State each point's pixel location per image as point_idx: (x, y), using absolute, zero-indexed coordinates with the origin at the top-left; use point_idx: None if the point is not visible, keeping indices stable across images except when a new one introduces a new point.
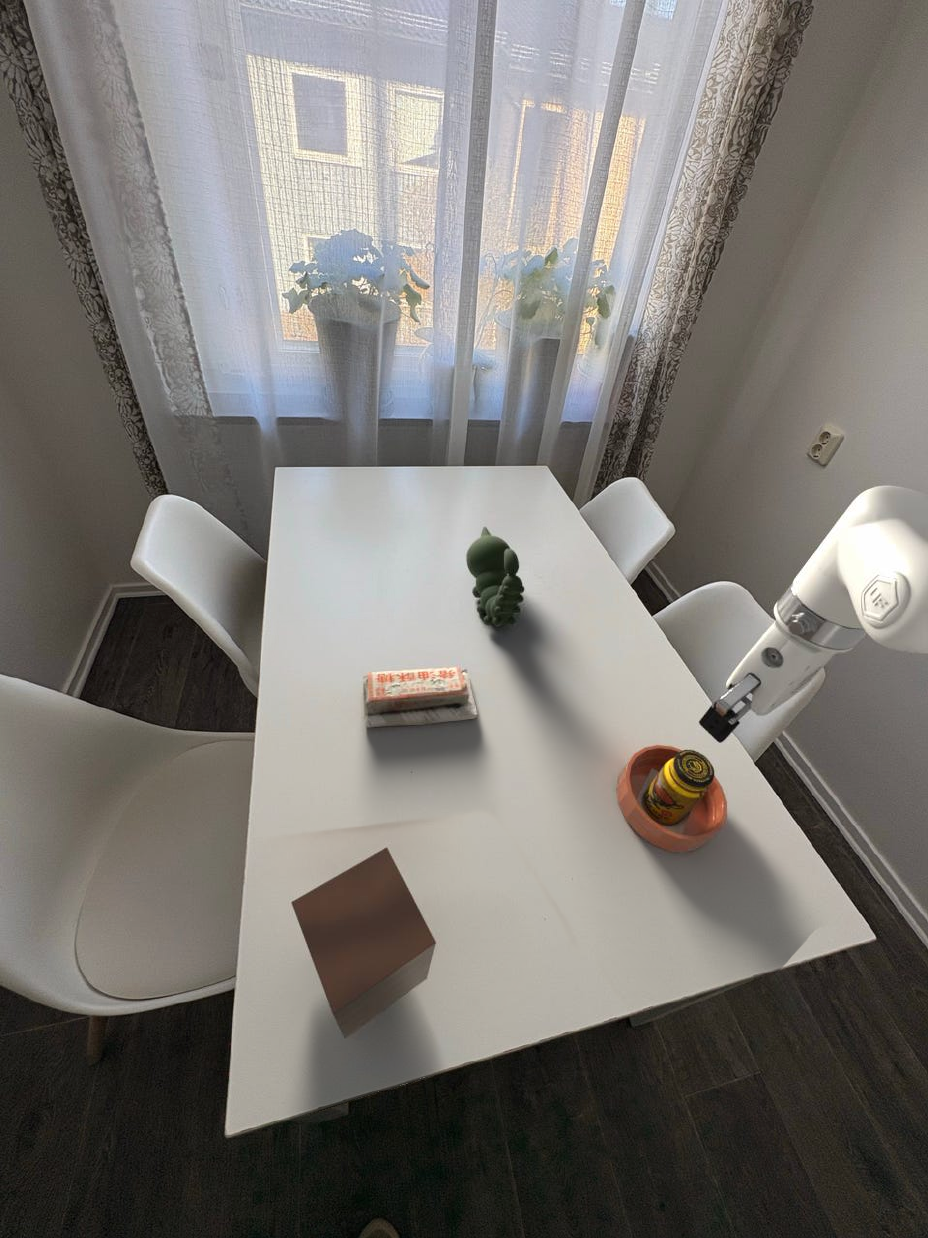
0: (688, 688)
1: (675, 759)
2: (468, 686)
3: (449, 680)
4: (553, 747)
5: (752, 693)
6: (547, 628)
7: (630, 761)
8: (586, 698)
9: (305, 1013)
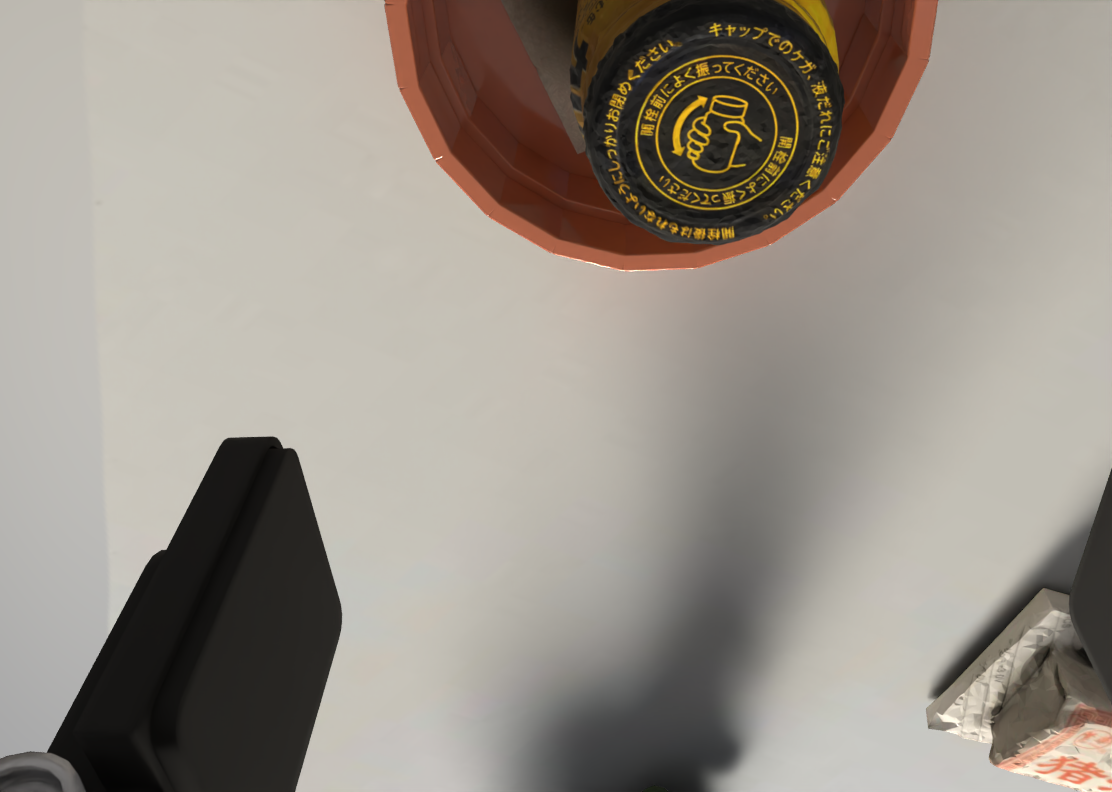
0: (115, 359)
1: (778, 222)
2: (979, 684)
3: (1087, 754)
4: (881, 398)
5: (332, 595)
6: (518, 727)
7: (746, 249)
8: (592, 492)
9: None
